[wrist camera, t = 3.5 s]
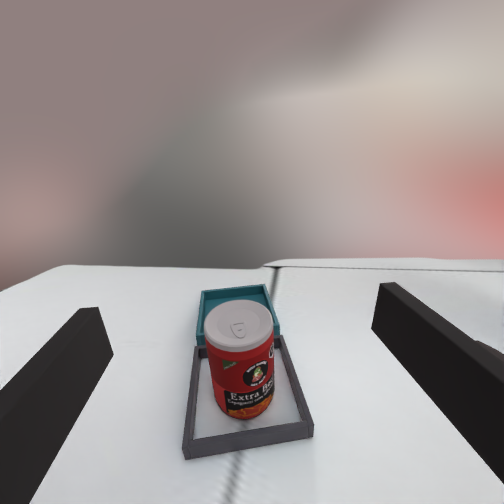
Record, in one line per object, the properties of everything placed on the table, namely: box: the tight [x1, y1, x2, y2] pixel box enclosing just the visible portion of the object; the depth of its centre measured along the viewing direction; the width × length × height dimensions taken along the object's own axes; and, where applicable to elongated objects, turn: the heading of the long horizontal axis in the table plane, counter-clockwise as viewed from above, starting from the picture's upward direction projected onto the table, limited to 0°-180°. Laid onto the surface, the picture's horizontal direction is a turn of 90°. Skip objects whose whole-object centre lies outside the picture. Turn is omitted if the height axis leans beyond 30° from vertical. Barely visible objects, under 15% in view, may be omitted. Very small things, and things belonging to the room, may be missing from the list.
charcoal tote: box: [182, 335, 314, 460], centre depth 30 cm, size 13×13×2 cm
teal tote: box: [196, 284, 280, 346], centre depth 43 cm, size 13×13×2 cm
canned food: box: [204, 300, 274, 419], centre depth 28 cm, size 8×8×11 cm
